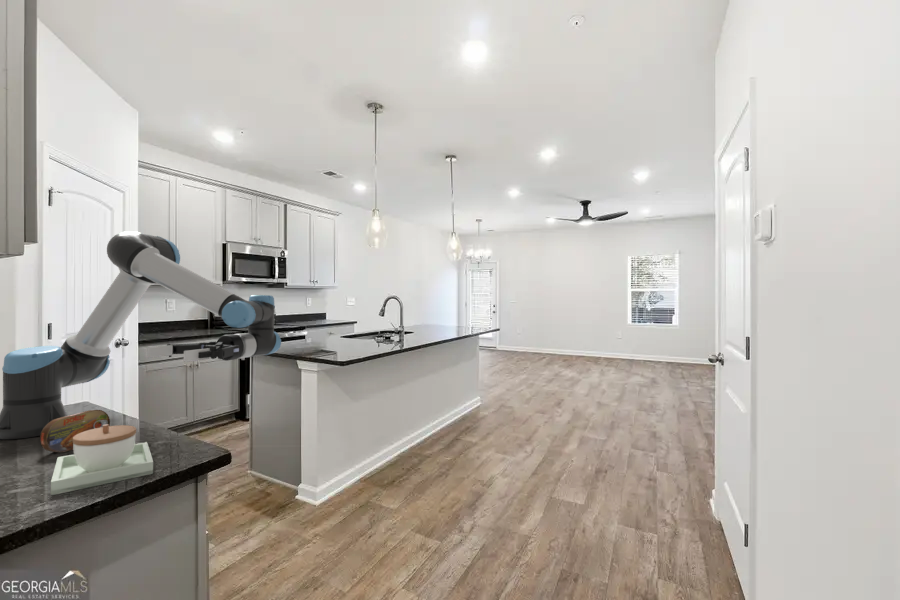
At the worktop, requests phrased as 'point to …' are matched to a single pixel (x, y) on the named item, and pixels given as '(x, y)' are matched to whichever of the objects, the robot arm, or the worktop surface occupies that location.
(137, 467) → the tray
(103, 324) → the robot arm
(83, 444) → the lidded jar
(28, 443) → the worktop surface
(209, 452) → the worktop surface
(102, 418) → the tin
